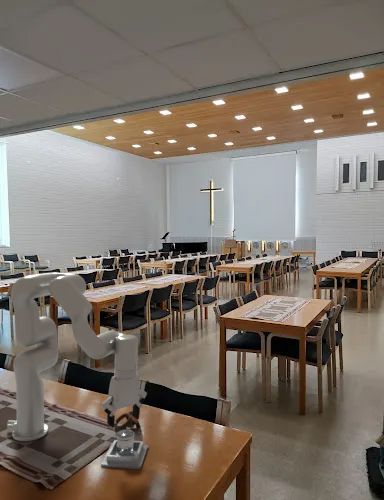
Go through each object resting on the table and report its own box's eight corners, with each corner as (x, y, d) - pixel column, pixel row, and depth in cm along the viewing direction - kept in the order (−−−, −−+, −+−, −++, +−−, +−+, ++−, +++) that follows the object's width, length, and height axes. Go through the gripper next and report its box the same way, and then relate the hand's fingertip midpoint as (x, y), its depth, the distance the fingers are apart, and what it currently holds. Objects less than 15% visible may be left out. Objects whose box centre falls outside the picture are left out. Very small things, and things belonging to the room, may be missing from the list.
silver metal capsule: (113, 453, 136) (113, 433, 136) (128, 447, 140) (128, 427, 140) (122, 461, 132) (122, 440, 131) (137, 454, 136) (137, 434, 135)
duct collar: (101, 466, 130) (101, 458, 130) (111, 445, 143) (111, 437, 143) (140, 468, 129) (140, 460, 129) (147, 447, 142) (147, 439, 142)
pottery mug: (141, 440, 148) (130, 423, 145) (119, 449, 149) (108, 433, 147) (146, 417, 159) (136, 402, 157) (125, 426, 160) (115, 410, 158)
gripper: (140, 364, 143) (138, 410, 144) (96, 374, 132) (95, 424, 133) (153, 370, 138) (151, 419, 139) (108, 381, 126) (106, 434, 127)
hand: (123, 421), depth 136 cm, fingers open, 9 cm apart
